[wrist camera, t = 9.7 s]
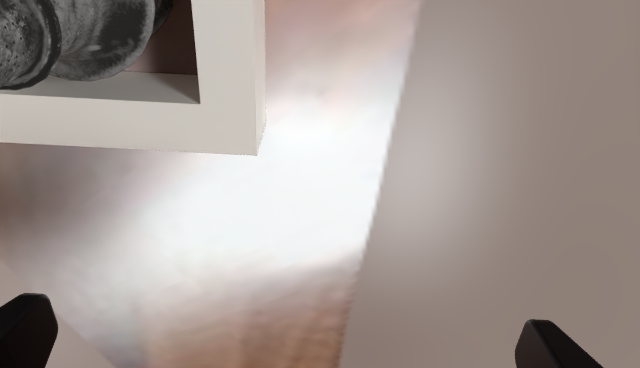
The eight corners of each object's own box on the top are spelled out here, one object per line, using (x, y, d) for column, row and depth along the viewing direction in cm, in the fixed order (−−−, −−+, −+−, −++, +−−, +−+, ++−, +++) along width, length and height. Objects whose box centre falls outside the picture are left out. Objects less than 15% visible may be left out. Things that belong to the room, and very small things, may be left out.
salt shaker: (-5, -111, 17) (-517, -95, 7) (161, -128, 17) (-117, -140, 6) (58, 56, 20) (-227, 239, 10) (198, 45, 20) (52, 223, 9)
